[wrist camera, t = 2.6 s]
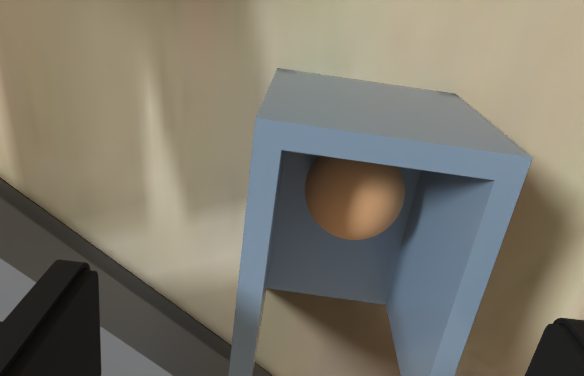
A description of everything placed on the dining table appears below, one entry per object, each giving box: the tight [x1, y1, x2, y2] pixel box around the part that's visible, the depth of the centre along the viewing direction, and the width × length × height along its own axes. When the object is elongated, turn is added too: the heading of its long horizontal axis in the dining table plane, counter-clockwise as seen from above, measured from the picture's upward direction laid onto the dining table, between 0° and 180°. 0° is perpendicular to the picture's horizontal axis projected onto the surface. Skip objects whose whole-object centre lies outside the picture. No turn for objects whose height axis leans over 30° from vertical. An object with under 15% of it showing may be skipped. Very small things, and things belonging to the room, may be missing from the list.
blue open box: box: [228, 68, 532, 376], centre depth 14 cm, size 8×6×6 cm
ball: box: [305, 155, 405, 240], centre depth 14 cm, size 3×3×3 cm
